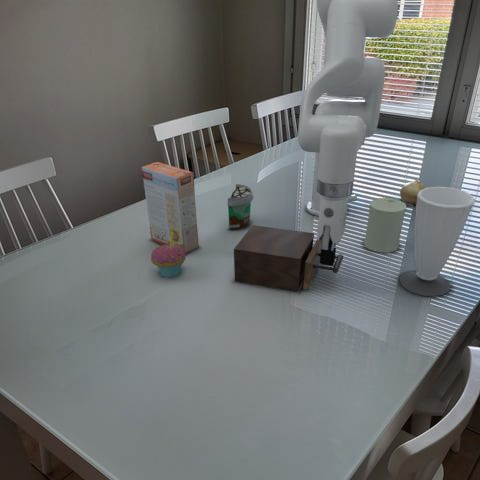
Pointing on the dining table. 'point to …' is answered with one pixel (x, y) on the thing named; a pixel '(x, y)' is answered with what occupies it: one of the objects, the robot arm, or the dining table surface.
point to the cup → (436, 237)
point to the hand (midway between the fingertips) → (327, 263)
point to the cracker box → (171, 205)
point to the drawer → (315, 263)
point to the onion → (411, 191)
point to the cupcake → (168, 258)
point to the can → (384, 224)
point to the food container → (240, 207)
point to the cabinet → (271, 257)
